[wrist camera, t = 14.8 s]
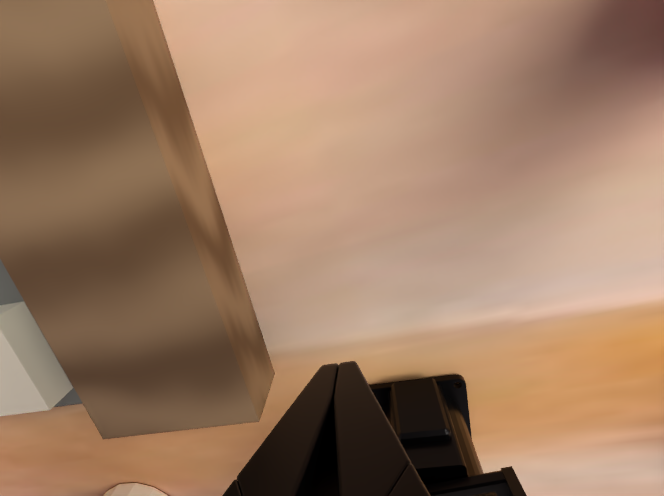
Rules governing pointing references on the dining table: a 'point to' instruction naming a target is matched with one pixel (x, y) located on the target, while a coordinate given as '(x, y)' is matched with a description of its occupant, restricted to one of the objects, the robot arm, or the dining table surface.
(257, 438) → the dining table surface
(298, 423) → the robot arm
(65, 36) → the deck
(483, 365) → the dining table surface
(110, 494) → the white cup
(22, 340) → the tile cream
